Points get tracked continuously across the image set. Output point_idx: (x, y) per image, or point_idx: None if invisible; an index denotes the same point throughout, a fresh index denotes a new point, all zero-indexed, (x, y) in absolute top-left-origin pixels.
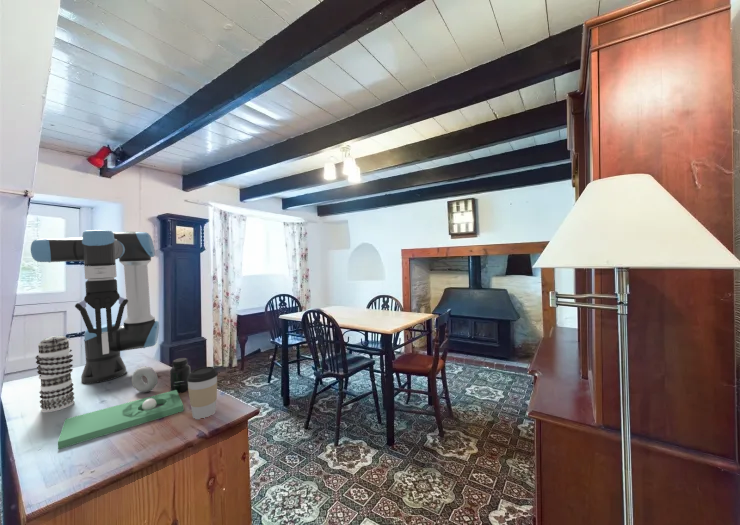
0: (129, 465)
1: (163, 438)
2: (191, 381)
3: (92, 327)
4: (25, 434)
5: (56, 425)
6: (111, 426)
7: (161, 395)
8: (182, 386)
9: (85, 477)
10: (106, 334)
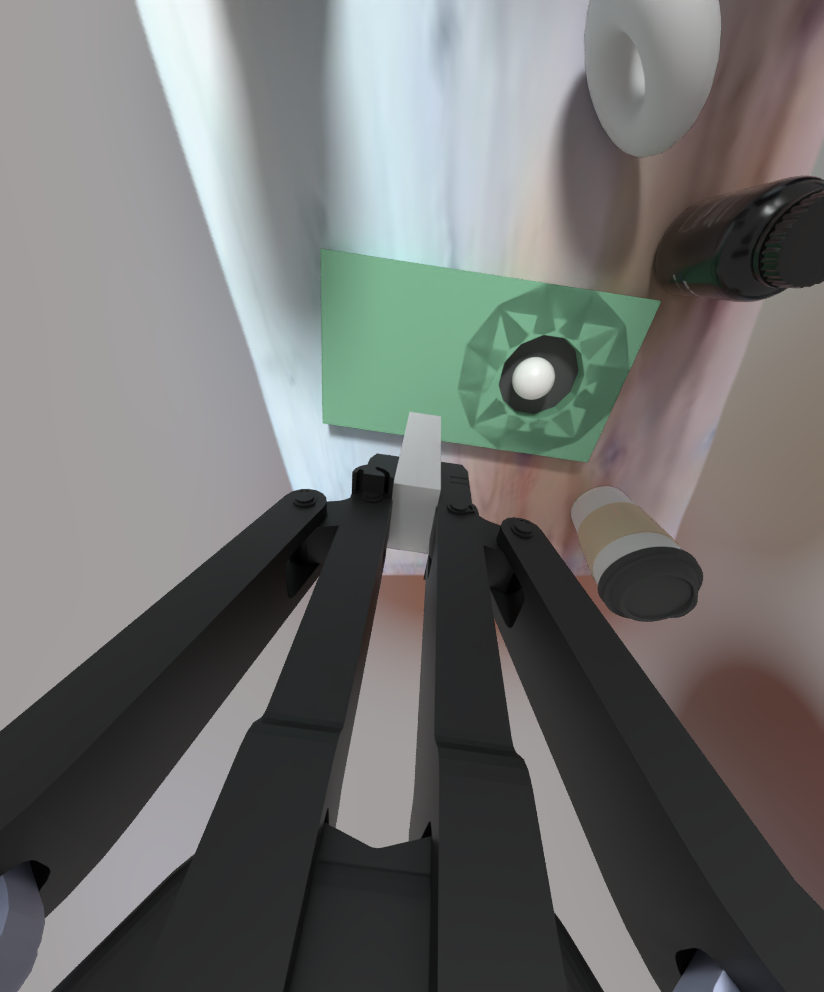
0: None
1: None
2: (601, 595)
3: (308, 584)
4: (227, 213)
5: (300, 217)
6: None
7: (597, 314)
8: (691, 296)
9: None
10: (420, 544)
